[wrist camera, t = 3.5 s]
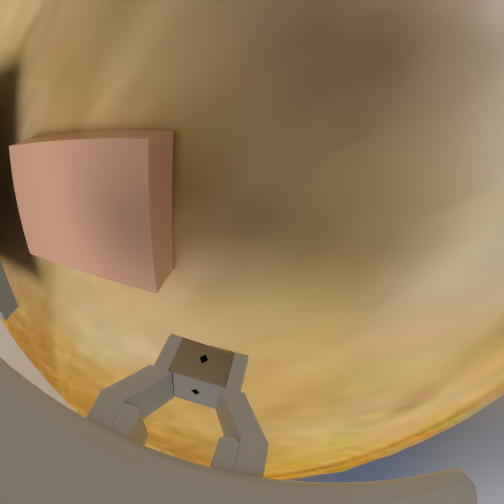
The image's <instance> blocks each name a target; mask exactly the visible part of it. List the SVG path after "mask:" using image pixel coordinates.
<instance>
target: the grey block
mask: <svg viewBox="0 0 504 504" xmlns="http://www.w3.org/2000/svg"><path fill="white" fill-rule="evenodd" d="M0 241H1V240H0ZM17 308H18V304H17V302H16V299H15V297H14V294H13V292H12V290H11V287H10V285H9V282H8V279H7V277H6V274H5V271H4V268H3V265H2V262H1V259H0V317H1V318H3V319H4V320H5V321H6V320H7V319H8V317H9V316H10V315H11V314H12V313H13V312H14V311H15V310H16V309H17Z"/></svg>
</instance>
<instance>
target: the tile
mask: <svg viewBox="0 0 504 504" xmlns="http://www.w3.org/2000/svg"><path fill="white" fill-rule="evenodd" d="M173 137H174V131H167V130H103V131H84V132H70V133H59V134H50V135H41V136H35V137H32V138H29V139H26V140H23V141H21V142H18V143H15V144H13V145H10V146H9V153H10V162H11V170H12V177H13V184H14V189H15V195H16V200H17V205H18V210H19V214H20V218H21V223H22V227H23V230H24V234H25V238H26V241H27V245H28V248H29V252H30V254H32V255H35V256H37V257H40V258H43V259H46V260H49V261H52V262H55V263H58V264H61V265H64V266H67V267H70V268H73V269H76V270H79V271H82V272H85V273H89V274H92V275H95V276H98V277H102V278H105V279H108V280H112V281H115V282H119V283H122V284H126V285H129V286H133V287H137V288H140V289H144V290H148V291H151V292H155V293H157V292H158V291H159V289H160V288H161V286H162V285H163V283H164V282H165V280H166V279H167V277H168V276H169V274H170V273H171V272H172V270H173V269H174V256H173V227H172V165H173Z"/></svg>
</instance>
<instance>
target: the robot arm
mask: <svg viewBox="0 0 504 504" xmlns="http://www.w3.org/2000/svg"><path fill="white" fill-rule="evenodd" d="M234 354H235V355H234ZM247 362H248V355H244V354H240V353H236V352H233V351H229V350H225V349H221V348H218V347H214V346H210V345H209V346H208V345H205V344H202V343H199V342H196V341H193V340H190V339H187V338H184V337H181V336H177V335H174V334H171V335H170V336H169V337H168V339H167V341H166V343H165V345H164V347H163V349H162V351H161V353H160V355H159V357H158V359H157V361H156V363H155V365H154V366H153V365H149V366H147V367H145V368H143V369H141V370H139V371H138V372H136V373H134V374H132V375H130V376H128V377H126V378H124V379H123V380H121V381H119V382H117V383H115V384H113V385H111V386H109V387H107V388H105V389H103V390H101V392H100V394H99V396H98V397H97V399H96V401H95V403H94V404H93V406H92V408H91V410H90V412H89V413H88V415H87V417H86V418H85V417H84V416H82V415H80V414H78V413H77V412H75V411H73V410H71V409H70V408H68V407H66V406H65V405H63V404H62V403H60V402H58V401H57V400H55V399H54V398H52V397H51V396H49V395H48V394H46V393H45V392H44V391H42V390H41V389H39V388H38V387H37V386H35V385H34V384H32V383H31V382H30V381H28V380H27V379H26V378H24V377H23V376H22V375H21V374H19V373H18V372H17V371H16V370H14V369H13V368H12V367H11V366H10V365H8V364H7V363H6V362H5V361H4V360H3V359H1V358H0V504H477V493H476V488H475V485H474V484H473V483H472V481H471V480H470V479H469V478H468V476H466V474H465V473H464V472H463V471H462V470H461V469H459V468H452V469H447V470H443V471H439V472H435V473H430V474H425V475H419V476H414V477H408V478H401V479H393V480H385V481H374V482H356V483H315V482H298V481H287V480H278V479H270V478H263V475H264V469H265V463H266V457H267V451H268V445H269V444H268V442H267V440H266V438H265V436H264V434H263V432H262V430H261V428H260V425H259V423H258V421H257V419H256V417H255V415H254V413H253V411H252V408H251V406H250V404H249V402H248V400H247V397H246V395H245V393H243V392H241V388H242V384H243V380H244V375H245V371H246V367H247ZM174 396H175V397H178V398H182V399H185V400H188V401H192V402H195V403H198V404H202V405H205V406H208V407H211V408H215V409H216V412H217V415H218V418H219V421H220V424H221V427H222V430H223V433H224V436H223V437H221V438H219V441H218V444H217V447H216V450H215V453H214V456H213V460H212V463H211V467H208V466H204V465H201V464H197V463H194V462H190V461H187V460H184V459H180V458H177V457H174V456H171V455H168V454H165V453H163V452H160V451H157V450H154V449H152V448H149V447H147V446H144V445H145V442H146V440H147V437H148V435H149V434H148V432H147V429H146V427H145V424H144V422H143V419H144V418H145V417H147V416H148V415H150V414H151V413H153V412H154V411H155V410H157V409H158V408H160V407H161V406H162V405H164V404H165V403H167V402H168V401H169V400H171V399H172V398H173V397H174Z"/></svg>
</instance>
